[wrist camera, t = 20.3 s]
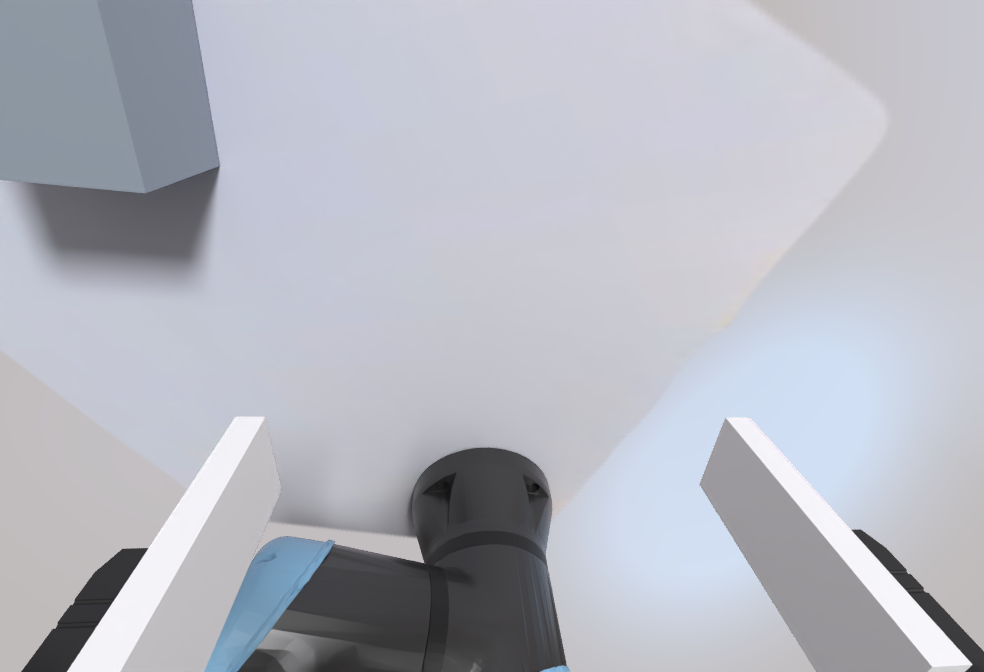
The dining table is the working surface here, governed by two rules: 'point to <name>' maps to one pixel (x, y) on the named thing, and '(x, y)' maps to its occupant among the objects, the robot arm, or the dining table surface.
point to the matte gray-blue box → (103, 94)
